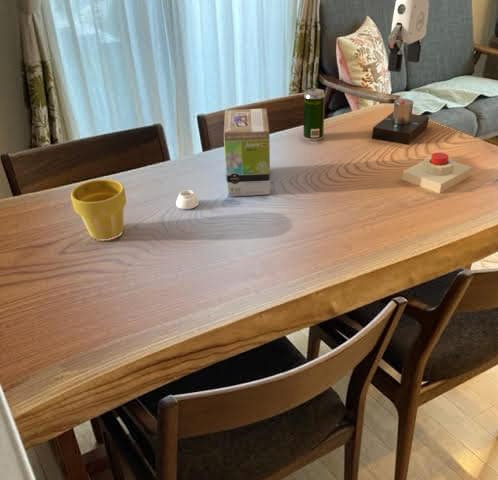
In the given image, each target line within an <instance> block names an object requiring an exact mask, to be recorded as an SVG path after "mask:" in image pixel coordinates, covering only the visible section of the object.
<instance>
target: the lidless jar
mask: <svg viewBox="0 0 498 480" xmlns="http://www.w3.org/2000/svg"><path fill="white" fill-rule="evenodd" d="M199 204H200V200H199V198H198V196H197V195H196V194H195V193H194V191H193V190H191V189H184V190H181V191H179V194H178V196H177V198H176V201H175V205H176V207H177V208H178V209H181V210H191V209H194V208H196V207H197V206H199Z"/></svg>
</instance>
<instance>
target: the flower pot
mask: <svg viewBox="0 0 498 480" xmlns="http://www.w3.org/2000/svg"><path fill="white" fill-rule="evenodd" d="M70 199H71V204H72V206H73V209H74V211H75V212H76V214H77V215H79V216H80V218H81V220H82V222H83V224H84V226H85V228H86V230H87V231H88V233H89V235H90V237H91V236H92V237H94V238H97V239H109V238H112V237H115V236H118V235H119V234H120V233H121V232H122V231H123V232H122V234H121V235H120V236H118V237H116V238H114V239H111V240H104V241H103V242H110V241H115V240H117V239H118V238H120V237H121V236H122V235H123V233H124V211H125V210H124V209H125V207H126V204H127V196H126V191H125V187H124V185H123V183H121V182H120V181H118V180H115V179H110V178H97V179H92V180H88V181H84V182H82V183H79V184H78V185H76V186H75V187H74V188H73V189H72V190H71V192H70ZM92 237H91V238H92ZM93 240H94V241H97V242H102V241H101V240H95V239H93Z"/></svg>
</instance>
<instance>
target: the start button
mask: <svg viewBox="0 0 498 480" xmlns="http://www.w3.org/2000/svg"><path fill="white" fill-rule="evenodd" d="M431 156H432V157H431V164H434V165H440V166H442V165H447V162H448V158H450V157H449V155H448V154H447V153H445V152H434V153H432V154H431Z"/></svg>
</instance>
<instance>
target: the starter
mask: <svg viewBox="0 0 498 480" xmlns="http://www.w3.org/2000/svg"><path fill="white" fill-rule="evenodd" d="M431 157H432V155H431V156H427V157H425V158H424V159H423V161H420V162H419V163H417V164H415V165H413V166H410V167H408V168H407V169H404V170H403V171H402V177H401V181H404V182H407V183H410V184H412V185H415V186H418V187H420V188H423V189H426V190H428V191H430V192H435V193H436V194H441V193H443V192H445V191H446V190H448V189H450V188H452V187H454V186H455V185H457V184H459V183H461V182H463V181H464V180H466V179H468V178H470V177H471V175H472V170H473V167H472V166H469V165H466V164H462V163H460V162H456V161H455V160H453V159H452V158H451V157H448V162H447V165H442V166H440V165H434V164H431Z"/></svg>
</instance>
